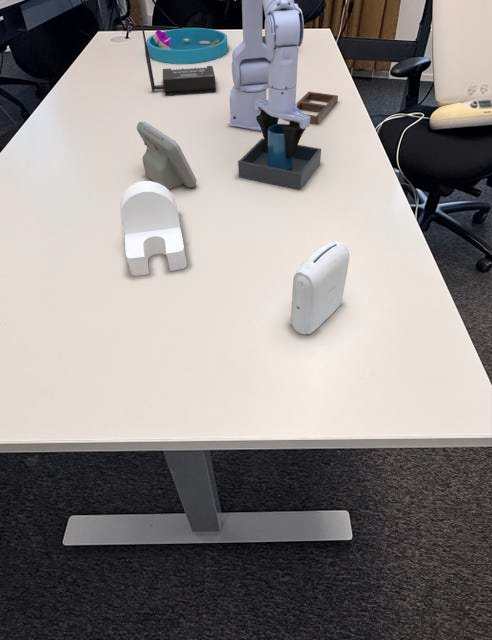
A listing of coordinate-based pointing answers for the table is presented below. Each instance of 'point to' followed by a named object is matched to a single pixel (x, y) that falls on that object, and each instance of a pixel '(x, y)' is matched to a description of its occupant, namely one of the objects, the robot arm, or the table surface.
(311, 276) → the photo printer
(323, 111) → the rack
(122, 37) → the table surface
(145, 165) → the digital clock
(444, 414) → the table surface
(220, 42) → the teal round tray
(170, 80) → the wireless controller
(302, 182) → the dark grey tray
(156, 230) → the bracket
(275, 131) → the cup
